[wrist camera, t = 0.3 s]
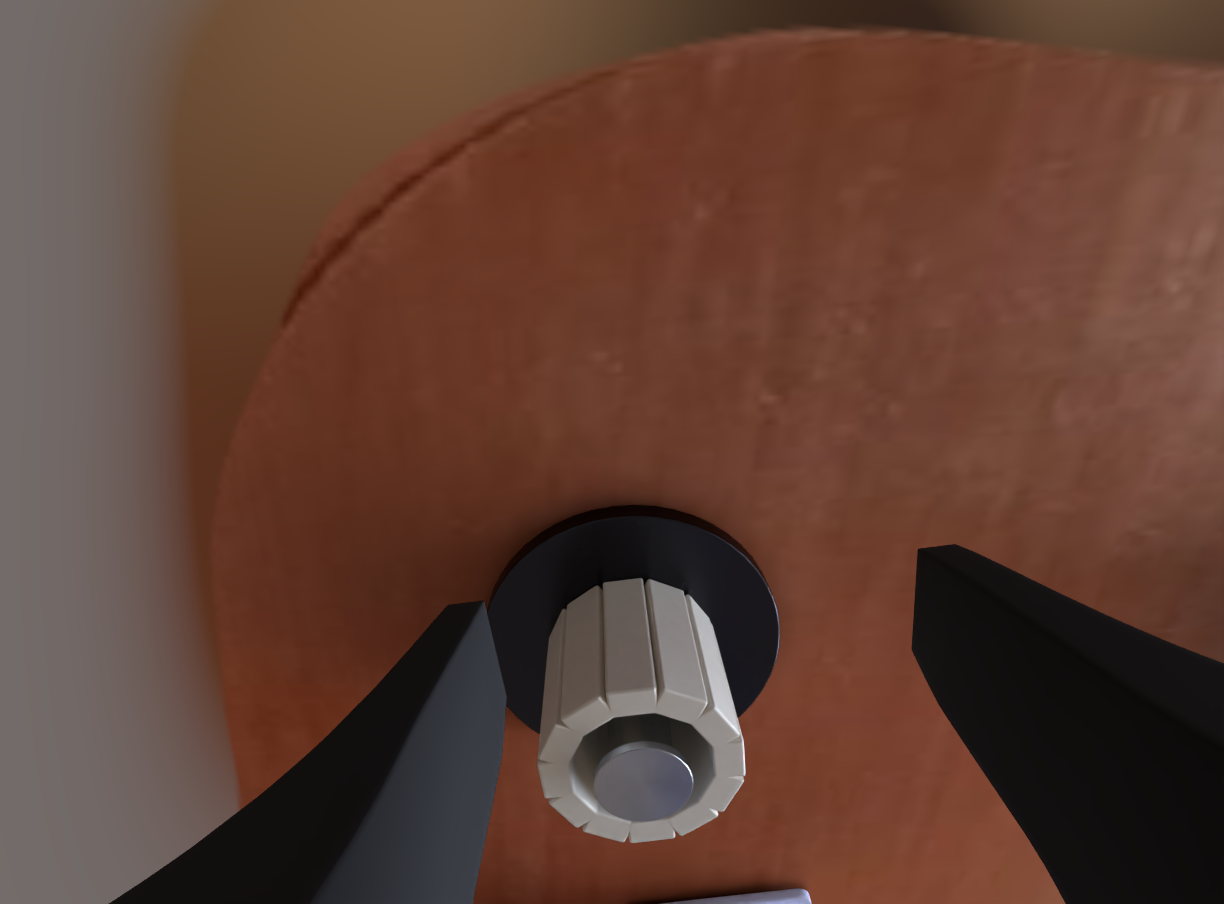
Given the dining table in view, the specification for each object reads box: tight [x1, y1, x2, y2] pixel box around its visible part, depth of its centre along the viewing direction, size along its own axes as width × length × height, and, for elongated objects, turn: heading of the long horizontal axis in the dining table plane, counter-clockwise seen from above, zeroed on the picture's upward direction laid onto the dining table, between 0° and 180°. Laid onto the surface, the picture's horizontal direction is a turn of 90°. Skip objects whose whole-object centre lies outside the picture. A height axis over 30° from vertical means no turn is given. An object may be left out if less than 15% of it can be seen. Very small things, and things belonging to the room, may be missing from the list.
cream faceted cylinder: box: [537, 578, 746, 843], centre depth 20 cm, size 6×6×5 cm
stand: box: [487, 505, 780, 822], centre depth 20 cm, size 10×10×6 cm
